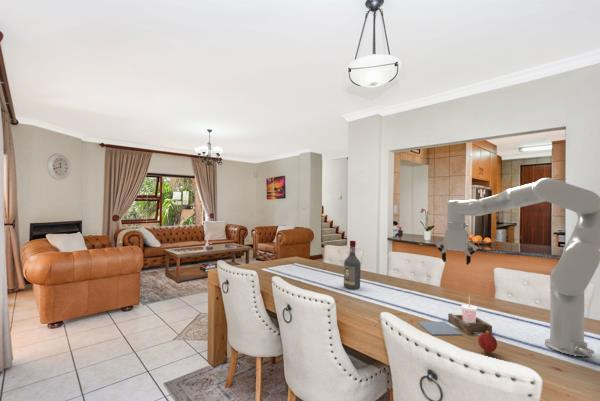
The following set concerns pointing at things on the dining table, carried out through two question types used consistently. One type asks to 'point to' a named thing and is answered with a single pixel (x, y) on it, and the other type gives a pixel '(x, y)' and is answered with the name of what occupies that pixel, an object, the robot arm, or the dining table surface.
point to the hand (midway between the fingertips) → (455, 262)
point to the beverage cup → (469, 313)
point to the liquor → (352, 269)
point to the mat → (439, 328)
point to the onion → (487, 342)
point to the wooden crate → (469, 324)
